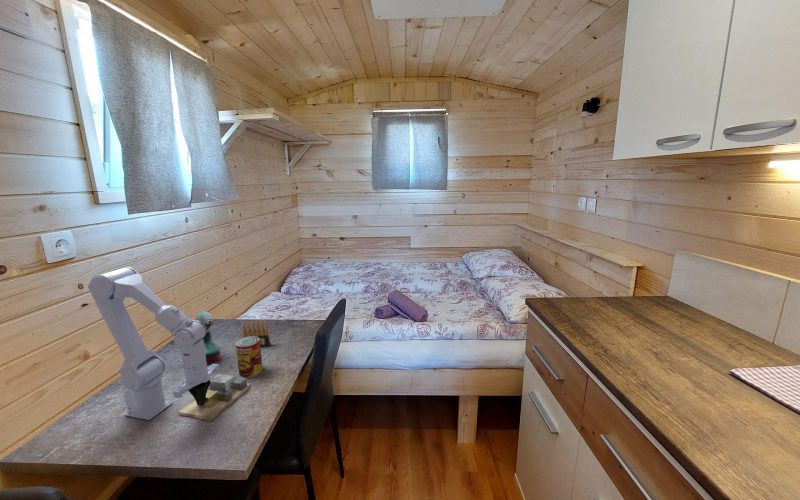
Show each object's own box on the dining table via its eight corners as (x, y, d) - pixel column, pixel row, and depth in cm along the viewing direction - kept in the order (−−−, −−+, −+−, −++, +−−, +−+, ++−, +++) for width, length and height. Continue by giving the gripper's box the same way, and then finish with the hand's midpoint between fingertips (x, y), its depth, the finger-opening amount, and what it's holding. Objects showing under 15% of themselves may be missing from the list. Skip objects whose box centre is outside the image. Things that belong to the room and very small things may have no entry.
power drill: (205, 373, 121) (198, 321, 117) (196, 356, 133) (189, 309, 129) (227, 365, 126) (220, 316, 122) (216, 350, 138) (210, 304, 134)
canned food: (234, 375, 120) (230, 344, 117) (250, 364, 127) (247, 334, 125) (251, 379, 117) (247, 347, 115) (267, 367, 124) (264, 337, 122)
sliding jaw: (188, 404, 103) (187, 394, 102) (203, 393, 108) (201, 384, 107) (219, 409, 100) (217, 399, 100) (232, 397, 105) (231, 388, 105)
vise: (178, 414, 100) (176, 404, 99) (220, 381, 116) (219, 372, 115) (212, 420, 97) (210, 410, 96) (250, 386, 113) (249, 377, 112)
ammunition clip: (270, 344, 142) (268, 318, 140) (269, 346, 141) (267, 319, 138) (244, 346, 141) (241, 319, 138) (243, 348, 139) (239, 321, 137)
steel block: (226, 397, 106) (224, 383, 105) (210, 394, 107) (208, 380, 106) (235, 389, 110) (233, 376, 109) (220, 387, 111) (218, 373, 110)
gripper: (185, 379, 90) (192, 423, 93) (224, 352, 104) (230, 391, 106) (164, 375, 92) (171, 419, 94) (205, 350, 105) (211, 388, 108)
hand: (201, 404), depth 101 cm, fingers closed
